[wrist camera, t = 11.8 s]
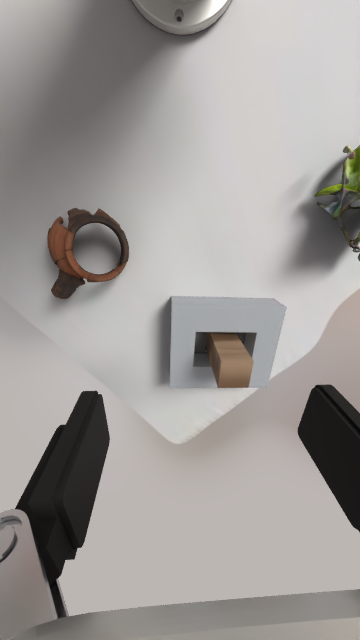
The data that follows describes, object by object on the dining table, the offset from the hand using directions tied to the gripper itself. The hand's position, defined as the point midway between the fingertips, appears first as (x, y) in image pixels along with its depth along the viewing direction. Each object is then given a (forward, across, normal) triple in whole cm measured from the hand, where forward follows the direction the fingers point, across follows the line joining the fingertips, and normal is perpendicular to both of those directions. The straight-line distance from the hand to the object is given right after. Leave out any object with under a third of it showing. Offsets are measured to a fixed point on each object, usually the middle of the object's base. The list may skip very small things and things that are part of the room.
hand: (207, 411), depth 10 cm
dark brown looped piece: (+25, +12, -3) cm, 28 cm away
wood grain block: (+24, -7, +10) cm, 27 cm away
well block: (+24, -7, +10) cm, 27 cm away
